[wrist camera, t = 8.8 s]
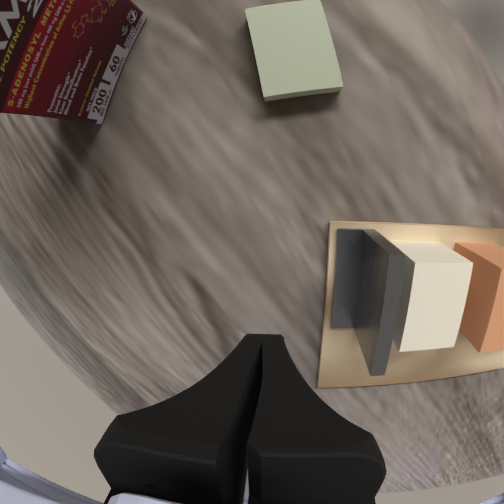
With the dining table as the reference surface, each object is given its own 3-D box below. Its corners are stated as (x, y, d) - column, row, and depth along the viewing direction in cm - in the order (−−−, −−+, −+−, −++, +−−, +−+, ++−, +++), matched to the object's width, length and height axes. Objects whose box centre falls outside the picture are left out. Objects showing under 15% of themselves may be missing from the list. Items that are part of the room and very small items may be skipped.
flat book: (338, 93, 17) (343, 86, 15) (265, 102, 18) (263, 97, 16) (317, 11, 16) (319, -1, 14) (248, 20, 16) (244, 9, 15)
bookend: (364, 325, 20) (384, 375, 14) (330, 326, 20) (341, 377, 15) (374, 228, 18) (406, 254, 13) (336, 228, 18) (356, 254, 13)
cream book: (427, 313, 19) (454, 346, 15) (379, 315, 20) (399, 351, 15) (438, 241, 18) (473, 262, 14) (388, 240, 18) (415, 262, 14)
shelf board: (502, 363, 20) (505, 367, 20) (316, 382, 22) (317, 387, 22) (536, 230, 17) (540, 232, 16) (328, 220, 19) (330, 222, 18)
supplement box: (105, 126, 19) (-115, 119, 3) (57, 113, 19) (-132, 109, 3) (152, 13, 16) (-3, -109, 1) (100, 9, 16) (-54, -72, 1)
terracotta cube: (481, 309, 19) (520, 345, 13) (443, 312, 19) (479, 353, 14) (494, 243, 17) (541, 267, 12) (455, 242, 18) (501, 268, 12)
